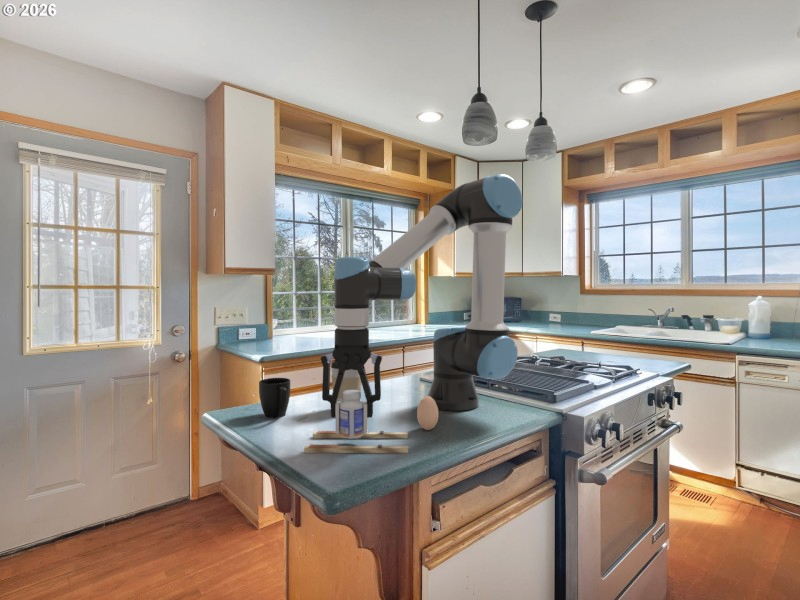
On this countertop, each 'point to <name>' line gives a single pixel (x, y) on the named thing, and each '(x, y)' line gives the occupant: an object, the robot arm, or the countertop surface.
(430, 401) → the egg
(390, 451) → the beam track
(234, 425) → the countertop surface
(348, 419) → the pill bottle
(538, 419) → the countertop surface
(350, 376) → the coffee cup
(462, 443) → the countertop surface
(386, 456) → the countertop surface
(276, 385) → the mug
